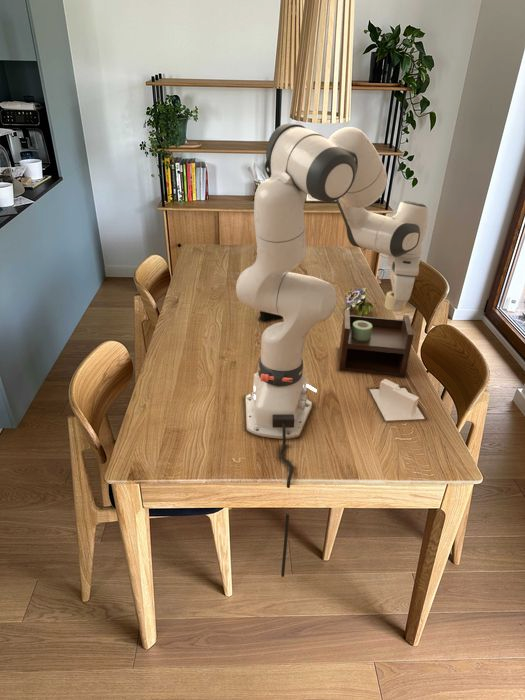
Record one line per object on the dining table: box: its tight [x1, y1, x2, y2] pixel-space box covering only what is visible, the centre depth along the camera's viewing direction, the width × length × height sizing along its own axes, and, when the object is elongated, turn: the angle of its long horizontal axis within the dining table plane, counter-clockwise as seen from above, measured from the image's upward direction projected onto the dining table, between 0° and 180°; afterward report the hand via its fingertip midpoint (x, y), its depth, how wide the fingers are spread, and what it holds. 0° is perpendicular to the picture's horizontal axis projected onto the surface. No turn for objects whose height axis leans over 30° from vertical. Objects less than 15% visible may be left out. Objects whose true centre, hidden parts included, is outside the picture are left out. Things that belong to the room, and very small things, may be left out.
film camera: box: [259, 311, 283, 322], centre depth 187 cm, size 15×10×9 cm, turn 115°
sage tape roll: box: [351, 321, 372, 341], centre depth 155 cm, size 6×6×4 cm
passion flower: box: [345, 287, 377, 317], centre depth 192 cm, size 11×11×12 cm
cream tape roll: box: [384, 290, 407, 312], centre depth 148 cm, size 6×6×4 cm
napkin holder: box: [368, 378, 425, 422], centre depth 141 cm, size 15×11×6 cm
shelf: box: [338, 309, 415, 378], centre depth 158 cm, size 14×20×15 cm
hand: (395, 303), depth 149 cm, fingers closed on cream tape roll, 6 cm apart
